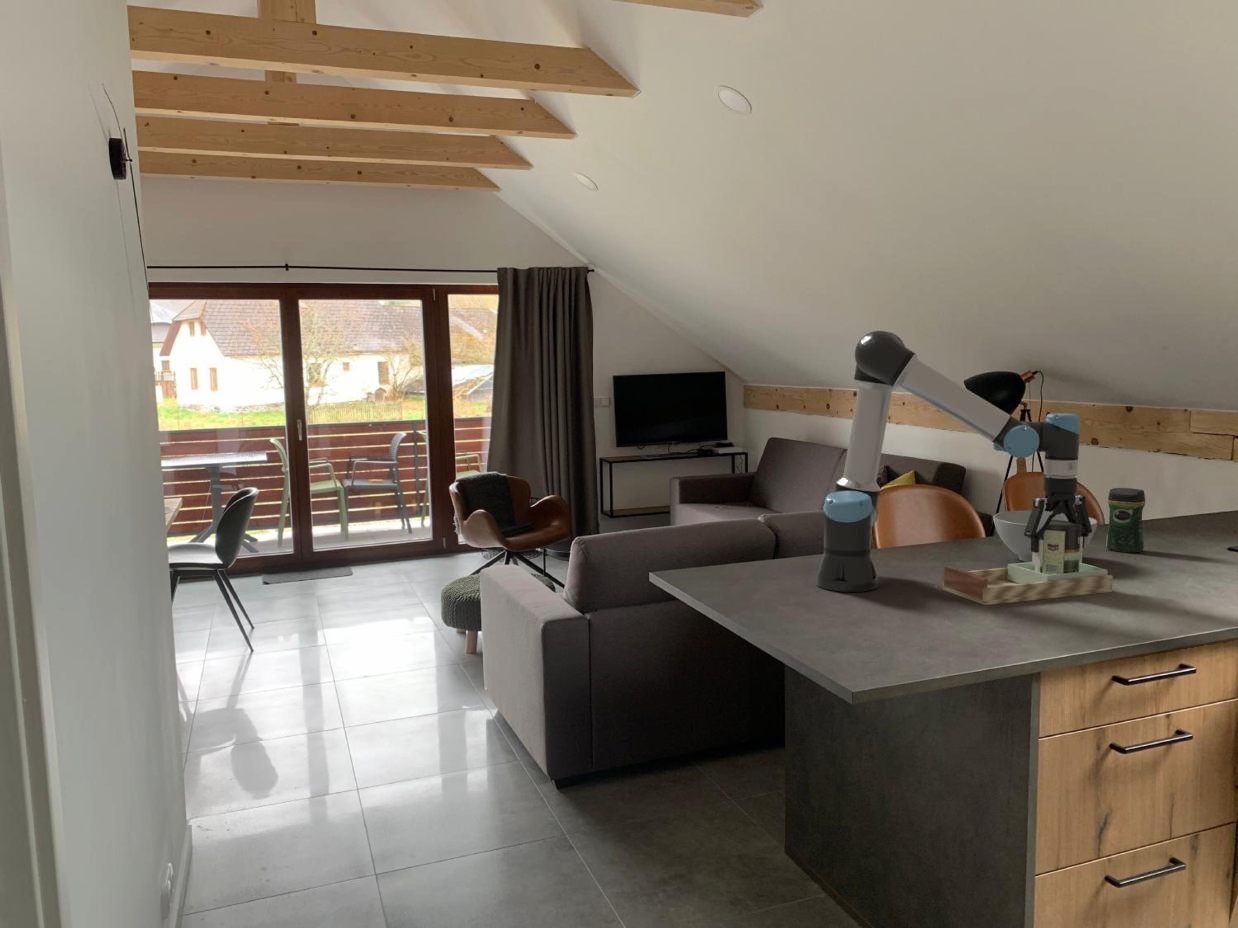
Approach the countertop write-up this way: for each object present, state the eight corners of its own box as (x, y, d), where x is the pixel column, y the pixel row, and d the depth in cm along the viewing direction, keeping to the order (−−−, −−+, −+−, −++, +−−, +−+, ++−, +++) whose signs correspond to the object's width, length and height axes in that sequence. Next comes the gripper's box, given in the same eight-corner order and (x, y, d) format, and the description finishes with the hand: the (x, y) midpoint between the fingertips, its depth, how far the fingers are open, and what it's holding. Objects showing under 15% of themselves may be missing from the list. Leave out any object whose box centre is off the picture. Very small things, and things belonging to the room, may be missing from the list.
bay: (984, 605, 216) (985, 579, 215) (941, 589, 231) (942, 565, 230) (1112, 591, 226) (1113, 567, 226) (1063, 577, 242) (1064, 554, 241)
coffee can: (1072, 574, 235) (1075, 520, 233) (1084, 584, 225) (1087, 527, 223) (1029, 573, 237) (1031, 518, 235) (1038, 582, 227) (1041, 526, 225)
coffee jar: (1146, 550, 274) (1149, 488, 272) (1138, 554, 268) (1141, 491, 266) (1110, 546, 280) (1113, 485, 278) (1102, 550, 275) (1105, 488, 273)
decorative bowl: (1045, 548, 279) (1046, 508, 278) (1118, 566, 254) (1120, 522, 252) (971, 554, 270) (972, 514, 269) (1039, 574, 245) (1041, 529, 244)
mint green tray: (1046, 592, 222) (1047, 575, 221) (1007, 579, 235) (1007, 564, 234) (1106, 585, 227) (1107, 569, 227) (1065, 573, 240) (1065, 558, 240)
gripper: (1031, 480, 221) (1028, 570, 223) (1111, 475, 228) (1107, 562, 230) (1010, 476, 228) (1006, 563, 231) (1087, 472, 235) (1083, 556, 237)
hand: (1056, 563), depth 230 cm, fingers open, 11 cm apart
